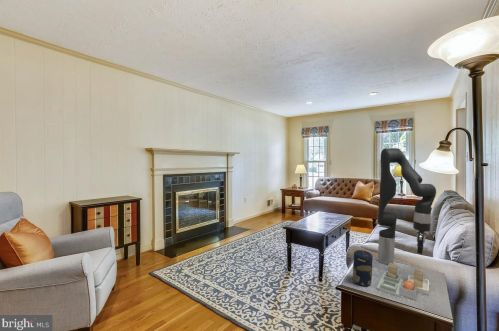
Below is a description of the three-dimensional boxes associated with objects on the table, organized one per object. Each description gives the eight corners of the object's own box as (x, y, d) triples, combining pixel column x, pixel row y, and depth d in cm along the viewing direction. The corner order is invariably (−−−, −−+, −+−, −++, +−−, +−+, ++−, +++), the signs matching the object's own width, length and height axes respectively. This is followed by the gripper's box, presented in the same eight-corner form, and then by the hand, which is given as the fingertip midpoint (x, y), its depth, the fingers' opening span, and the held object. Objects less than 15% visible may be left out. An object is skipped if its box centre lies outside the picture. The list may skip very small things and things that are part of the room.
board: (383, 275, 144) (383, 270, 144) (403, 281, 138) (403, 276, 138) (376, 289, 129) (377, 284, 129) (398, 296, 123) (399, 291, 123)
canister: (372, 281, 137) (374, 250, 136) (369, 289, 130) (371, 256, 129) (354, 276, 143) (355, 246, 142) (350, 283, 135) (352, 251, 134)
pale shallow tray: (408, 278, 141) (408, 274, 141) (429, 284, 135) (429, 280, 135) (406, 289, 131) (406, 284, 130) (428, 295, 125) (428, 291, 125)
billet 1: (388, 276, 141) (389, 262, 140) (396, 278, 139) (397, 265, 138) (387, 279, 138) (388, 265, 137) (395, 281, 135) (396, 267, 135)
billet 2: (413, 282, 136) (414, 268, 135) (422, 285, 133) (423, 271, 133) (413, 286, 133) (414, 271, 132) (422, 288, 130) (423, 274, 130)
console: (401, 288, 131) (401, 281, 130) (416, 293, 126) (417, 286, 126) (399, 294, 125) (399, 287, 125) (415, 300, 121) (416, 292, 120)
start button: (404, 290, 128) (404, 279, 128) (413, 293, 126) (413, 282, 126) (403, 294, 125) (403, 282, 125) (412, 297, 123) (413, 285, 122)
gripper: (414, 216, 139) (412, 245, 140) (412, 222, 127) (410, 253, 128) (431, 219, 134) (429, 249, 135) (430, 225, 123) (428, 257, 124)
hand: (420, 251), depth 132 cm, fingers open, 6 cm apart
